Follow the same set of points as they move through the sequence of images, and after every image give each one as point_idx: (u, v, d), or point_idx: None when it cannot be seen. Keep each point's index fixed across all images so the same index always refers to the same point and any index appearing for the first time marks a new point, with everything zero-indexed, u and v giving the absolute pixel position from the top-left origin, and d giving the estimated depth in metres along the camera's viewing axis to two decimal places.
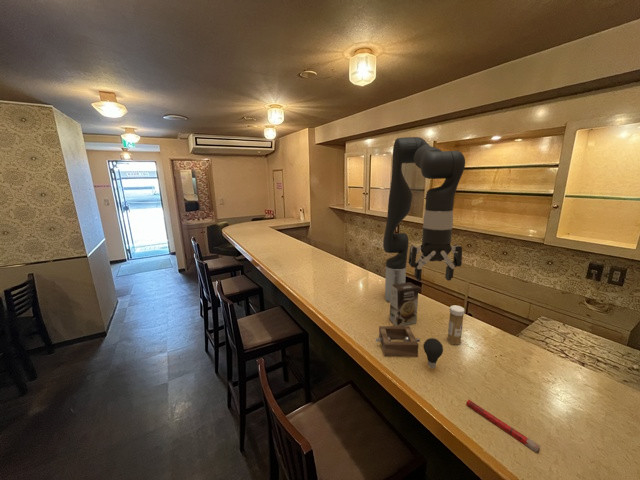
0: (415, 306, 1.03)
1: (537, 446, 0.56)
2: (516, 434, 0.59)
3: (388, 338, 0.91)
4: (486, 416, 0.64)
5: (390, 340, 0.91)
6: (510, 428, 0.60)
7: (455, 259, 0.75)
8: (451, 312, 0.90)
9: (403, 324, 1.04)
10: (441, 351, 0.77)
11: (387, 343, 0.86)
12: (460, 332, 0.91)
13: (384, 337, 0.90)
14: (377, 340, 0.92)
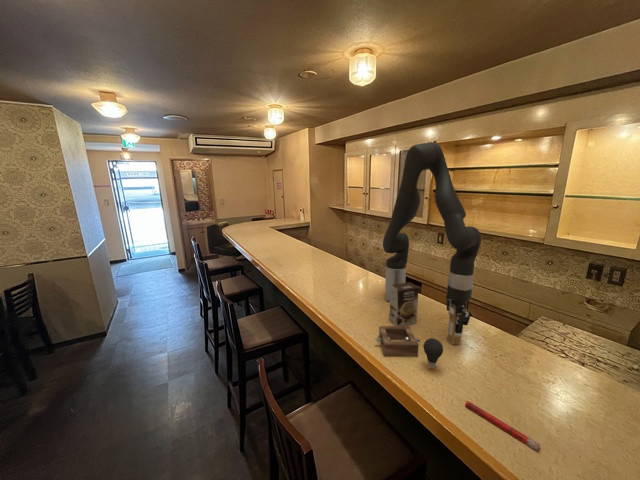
0: (415, 306, 1.03)
1: (537, 445, 0.56)
2: (516, 434, 0.59)
3: (388, 338, 0.91)
4: (486, 417, 0.64)
5: (390, 340, 0.91)
6: (510, 428, 0.60)
7: None
8: (451, 312, 0.90)
9: (403, 324, 1.04)
10: (441, 351, 0.77)
11: (387, 343, 0.86)
12: None
13: (384, 337, 0.90)
14: (377, 340, 0.92)
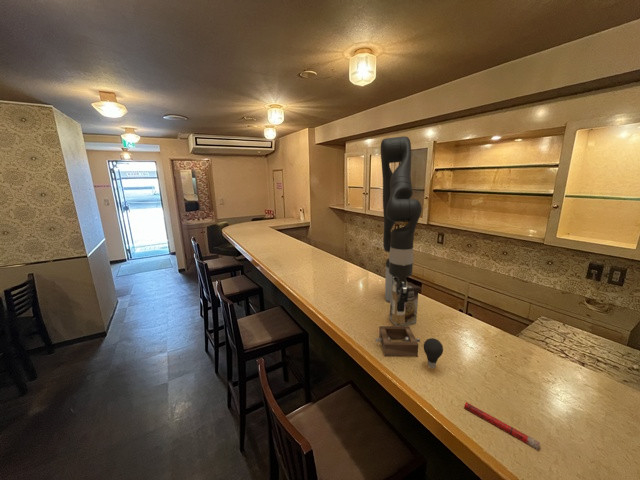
0: (415, 306, 1.03)
1: (538, 443, 0.57)
2: (517, 434, 0.59)
3: (388, 338, 0.91)
4: (485, 418, 0.63)
5: (390, 340, 0.91)
6: (510, 428, 0.60)
7: None
8: (393, 289, 0.86)
9: (403, 324, 1.04)
10: (441, 351, 0.77)
11: (387, 343, 0.86)
12: (403, 311, 0.87)
13: (384, 337, 0.90)
14: (377, 340, 0.92)
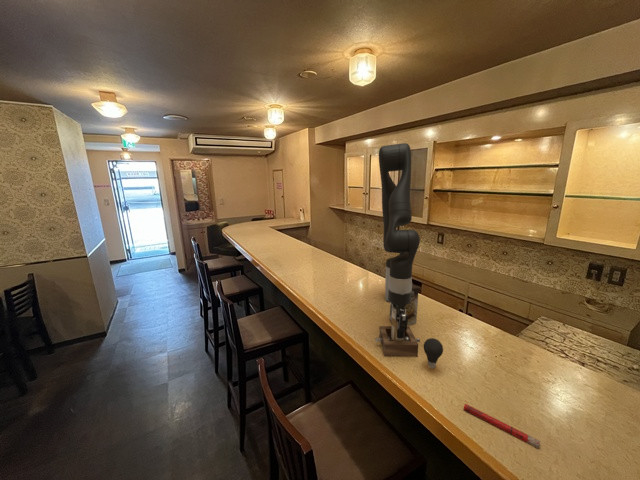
0: (415, 306, 1.03)
1: (538, 442, 0.57)
2: (517, 433, 0.59)
3: (388, 338, 0.91)
4: (485, 419, 0.63)
5: (390, 340, 0.91)
6: (510, 427, 0.60)
7: None
8: (392, 316, 0.89)
9: None
10: (441, 351, 0.77)
11: (387, 343, 0.86)
12: None
13: (384, 337, 0.90)
14: (377, 340, 0.92)
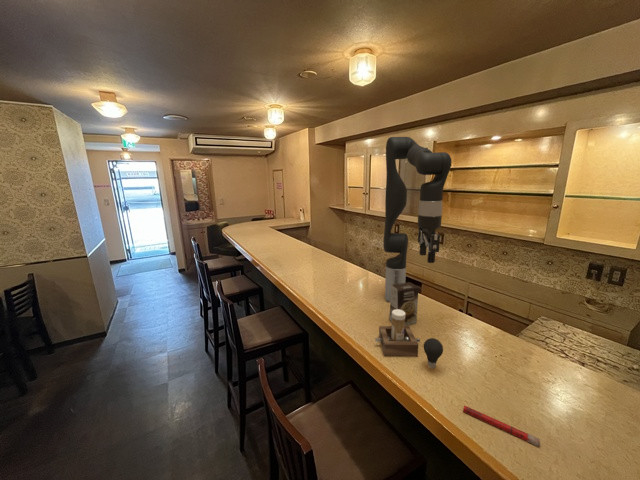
0: (415, 306, 1.03)
1: (538, 440, 0.57)
2: (517, 433, 0.59)
3: (388, 338, 0.91)
4: (485, 420, 0.63)
5: (390, 340, 0.91)
6: (510, 427, 0.60)
7: None
8: (392, 316, 0.89)
9: None
10: (441, 351, 0.77)
11: (387, 343, 0.86)
12: (401, 336, 0.89)
13: (384, 337, 0.90)
14: (377, 340, 0.92)
